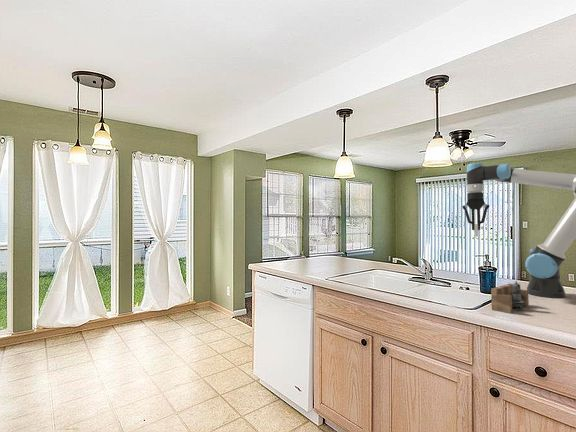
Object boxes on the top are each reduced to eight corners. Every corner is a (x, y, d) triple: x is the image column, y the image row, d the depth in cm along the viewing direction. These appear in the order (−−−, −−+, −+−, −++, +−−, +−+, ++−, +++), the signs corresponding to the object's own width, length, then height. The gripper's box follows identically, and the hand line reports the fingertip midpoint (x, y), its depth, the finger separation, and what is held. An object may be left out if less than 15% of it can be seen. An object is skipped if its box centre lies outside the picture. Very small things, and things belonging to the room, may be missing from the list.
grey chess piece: (518, 307, 141) (517, 279, 141) (528, 310, 135) (528, 282, 135) (505, 307, 140) (504, 279, 141) (515, 311, 135) (514, 282, 135)
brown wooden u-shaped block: (510, 303, 147) (510, 283, 147) (528, 306, 141) (528, 285, 141) (491, 309, 137) (491, 288, 137) (510, 313, 131) (509, 291, 132)
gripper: (461, 192, 172) (462, 236, 171) (490, 191, 166) (491, 236, 165) (461, 193, 178) (462, 235, 178) (488, 192, 172) (489, 236, 172)
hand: (476, 236), depth 172 cm, fingers closed
